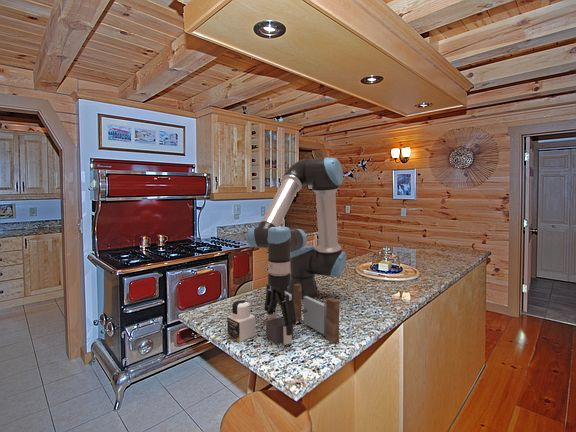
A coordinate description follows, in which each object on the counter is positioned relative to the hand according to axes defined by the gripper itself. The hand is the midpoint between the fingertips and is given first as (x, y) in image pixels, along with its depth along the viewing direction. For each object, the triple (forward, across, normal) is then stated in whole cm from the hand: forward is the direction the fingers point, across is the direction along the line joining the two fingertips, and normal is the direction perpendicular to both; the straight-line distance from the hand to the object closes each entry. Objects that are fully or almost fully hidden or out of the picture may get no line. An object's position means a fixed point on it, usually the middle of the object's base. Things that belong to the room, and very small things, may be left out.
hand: (279, 337), depth 110 cm
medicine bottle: (+1, -9, -10) cm, 13 cm away
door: (0, +2, +14) cm, 14 cm away
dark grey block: (0, 0, 0) cm, 0 cm away
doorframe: (0, +2, +14) cm, 14 cm away
